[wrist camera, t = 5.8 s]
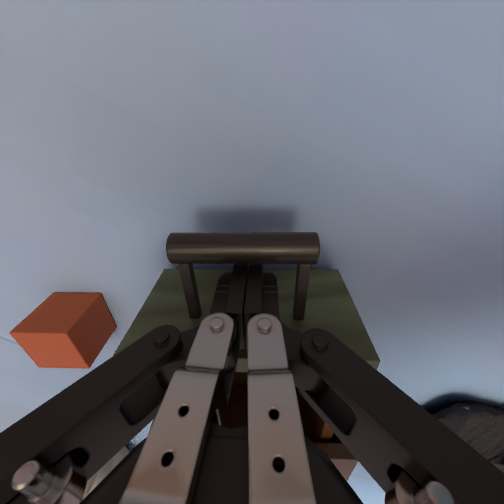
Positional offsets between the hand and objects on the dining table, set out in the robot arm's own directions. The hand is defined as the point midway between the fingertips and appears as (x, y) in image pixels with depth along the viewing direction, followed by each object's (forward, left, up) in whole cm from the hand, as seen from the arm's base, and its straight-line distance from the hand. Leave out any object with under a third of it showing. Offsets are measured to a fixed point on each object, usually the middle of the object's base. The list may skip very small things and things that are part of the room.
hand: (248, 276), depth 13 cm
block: (+12, -13, -5) cm, 19 cm away
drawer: (+7, +2, -4) cm, 8 cm away
